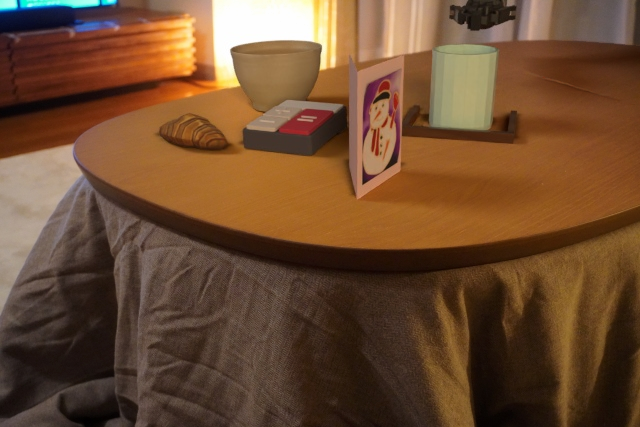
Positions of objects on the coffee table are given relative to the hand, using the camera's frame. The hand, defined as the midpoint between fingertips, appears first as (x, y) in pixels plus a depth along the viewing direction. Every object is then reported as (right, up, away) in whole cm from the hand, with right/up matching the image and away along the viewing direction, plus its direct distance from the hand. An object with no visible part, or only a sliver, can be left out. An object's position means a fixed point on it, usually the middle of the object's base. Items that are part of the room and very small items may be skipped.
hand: (475, 22), depth 107 cm
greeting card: (-22, -29, -28) cm, 46 cm away
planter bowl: (-34, -14, +7) cm, 37 cm away
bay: (-4, -19, -8) cm, 21 cm away
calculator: (-30, -21, -11) cm, 39 cm away
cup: (-4, -18, -6) cm, 20 cm away
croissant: (-46, -23, -13) cm, 53 cm away
